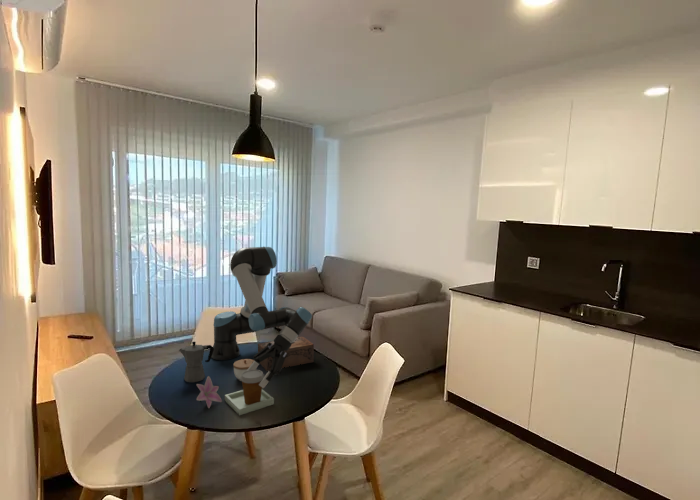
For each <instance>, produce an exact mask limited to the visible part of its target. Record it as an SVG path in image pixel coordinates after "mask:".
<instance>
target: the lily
mask: <svg viewBox="0 0 700 500" xmlns="http://www.w3.org/2000/svg"><path fill="white" fill-rule="evenodd" d="M196 387H197V388H198V389H199V391H200V392H199V394H198V395H197V397H196V401H199V402H202V401H205V402H206V405H207V408H208V409H210V407H211V406H212V403H213V402H217V403H222V402H223V400H222V398H221V396H220V395H219V394H218V393H217V391H218V390H219V389H220V386H219V385H213V382H212V379H211V377H210V376H209V375H208V376H207V377H206V380H205V383H204V384H202V383H196Z"/></svg>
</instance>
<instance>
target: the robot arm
mask: <svg viewBox="0 0 700 500" xmlns="http://www.w3.org/2000/svg"><path fill="white" fill-rule="evenodd" d="M277 263H278V262H277V255H276V251H275V250H274V249H273V248H272V247H271V246H253V247H250V246H249V247H242V248H238V250H236V251H235V252H234V253H233V254H232V257H231V260H230V272H231V273H232V276H233V277H235V278H236V280H237V282H238V285H239V287H240V291H241V292H242V296H243V298H244V306H243V307H241V308H240V310H239V311H240V312H239V313H236V312H235V311H231V310H230V311H223V312H221V313H218V314H217V315H215V316H214V318H213V345H212V347H213V348H214V351H213V354H212V357H211V359H212V360H217V361H228V360H232V359H235V358H237V357H239V356H240V352H241V351H240V350H241V349H240V347H239V345H238V344H239V343H238V341H237V336H239V335H245V334H246V335H247V334H250V333H255V332H259V331H263V330H267V329H272V328H279V327H283V328H281V330H280V331H279V334H277V336H275V338H274V339H273V341H274V344H273V345H272V344H271V343H269V344H268V345H267V346H266V347H265V348H263V349H262V350H261V351H259V352H258V351H257V353H256V354H254V355H253V356H252V357H253V360H254V362H253V363H252V364H251V365H250V367H249V368H248V370H255V369H256V370H257V368H258V366H259V365H261V364H260V362H261V361H263V360H265V359H267V358H268V357H273V361H272V366H271V370H269V371H267V372H266V374H264V378H263V379H262V381H261V382H260V383H259V386H261V387H262V389H263V390H264V388H266V386H267V384H268V383H270V381H271V380H272V379H273V377H274V376H276V375H277V376H279V375H280V373H281V371H282V369H283V368H282V366H283V363H284V360H285V358H286V357H287V355H288V354H287V353H286V352H285V351H288V349H289V348H290V347H291V345H292V344H291V343H293V342H294V341H295V340H296V338H297V337H300V336H299V335H301V333H302V332H303V331H304V329H305V328H306V327H307V326H308V324H309V323H310V321H311V319H312V318H313V315H312V313H311V312H310V311H309V310H307V308H305V307H303V306H300V307H298V308H297V309H296V310H295V309H293V308H290V307H286V306H283V307H280V308H279V309H277V310H269V309H268V307H267V305H266V303H265V301H264V298H263V294H264V289H265V285H266V280H267V276H268V275H270V274H271V269H275V268H276V266H277ZM248 370H247V371H248Z"/></svg>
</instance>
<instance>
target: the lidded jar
mask: <svg viewBox="0 0 700 500" xmlns="http://www.w3.org/2000/svg"><path fill="white" fill-rule="evenodd" d="M253 362H254V358H253V359H251V358H242V359H239V360H235V361H234V363H233V373H234V377H236V379H237V380H238V381H240V382H242V381H241V376H242V373H243V372H245V371H247V370H248V368H249V367H250V365H251V364H252V363H253ZM255 370H257V368H256V369H255Z"/></svg>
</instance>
